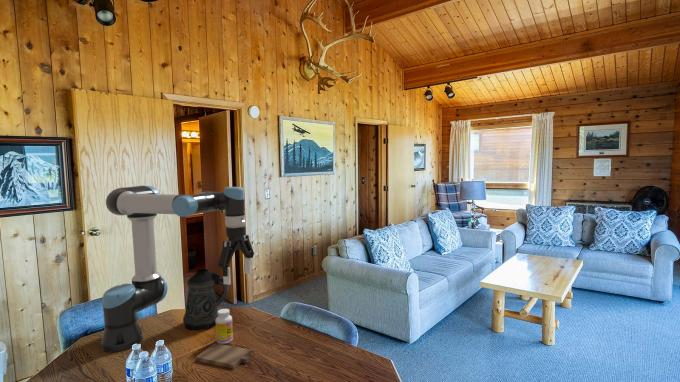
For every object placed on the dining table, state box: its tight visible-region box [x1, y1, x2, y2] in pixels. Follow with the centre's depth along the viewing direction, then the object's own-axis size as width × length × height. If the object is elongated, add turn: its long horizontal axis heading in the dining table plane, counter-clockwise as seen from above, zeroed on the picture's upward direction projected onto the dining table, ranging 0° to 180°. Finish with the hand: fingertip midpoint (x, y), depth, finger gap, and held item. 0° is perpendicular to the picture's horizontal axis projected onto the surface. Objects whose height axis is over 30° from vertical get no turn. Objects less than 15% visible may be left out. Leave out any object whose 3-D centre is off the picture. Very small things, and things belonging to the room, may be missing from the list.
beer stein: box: [182, 268, 229, 332], centre depth 171 cm, size 16×19×25 cm
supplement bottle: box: [215, 308, 234, 345], centre depth 153 cm, size 7×7×13 cm
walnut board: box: [195, 342, 252, 369], centre depth 140 cm, size 19×11×2 cm, turn 70°
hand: (238, 278), depth 147 cm, fingers open, 13 cm apart
